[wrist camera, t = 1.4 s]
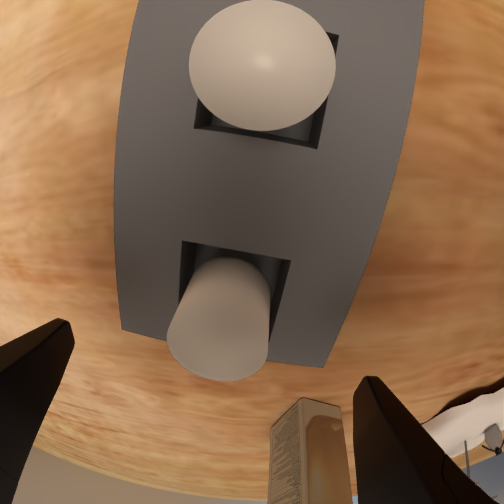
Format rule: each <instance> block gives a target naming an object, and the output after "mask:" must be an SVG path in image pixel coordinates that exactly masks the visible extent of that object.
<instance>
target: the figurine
mask: <svg viewBox="0 0 504 504" xmlns="http://www.w3.org/2000/svg"><path fill="white" fill-rule="evenodd" d="M422 426H423V428H424V429H425V430H426V431H427V432H428V433H429V434H430V435H431V437H432V438H433V439H434V440H435V441H436V442H437V443H438V445H439V446H440V447H441V448H442V449H443V450H444V451H445V453H446V454H447V455H448V456H449V457H450V458H452V457H456V456H458V455H460V454H462V453H464V452H465V454H466V464H467V476H468V477H469V478H470V471H469V460H468V450H471V449H472V448H474V447H476V446H477V445H479V444H480V443H481V442H483V441H484V440H485V442H486V443H487V444H488V446H489V447H490V449H491V450H490V449H489V448H487V447H485V446H483V445H482V447H484V448H486V449H488V450H490V451H493V452H495V454H496V456H497V455H498V454H500V453H501V452H502V450H501V447H502V446H503V444H504V440H503V441H502V434H501V431H502V430H504V388H502V389H500V390H499V391H497V392H495V393H493V394H486V395H481V396H479V397H477V398H476V399H474V400H473V401H471V402H469V403H466V404H463V405H459V406H456V407H452V408H450V409H448V410H447V411H445V412H443V413H441V414H439V415H438V416H436V417H435V418H433V419H431V420H430V421H428V422H426V423H424V424H422ZM474 483H475V482H474ZM475 484H476V485H479V482H478V483H475ZM496 497H497V496H494V497H491V498H492V499H493V498H496Z"/></svg>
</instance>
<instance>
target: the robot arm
mask: <svg viewBox="0 0 504 504" xmlns="http://www.w3.org/2000/svg"><path fill="white" fill-rule="evenodd" d="M74 345H75V340H74V336H73V333H72V329H71V325H70V323H69V322H68V321H66V320H63V319H60V318H57V319H54V320H52V321H50V322H48V323H46V324H44V325H42V326H40V327H38V328H36V329H34V330H32V331H30V332H28V333H26V334H24V335H22V336H20V337H18V338H16V339H14V340H12V341H10V342H8V343H6V344H4V345H2V346H0V504H12V501H13V497H14V495H15V492H16V489H17V486H18V482H19V479H20V476H21V474H22V471H23V468H24V465H25V463H26V460H27V457H28V455H29V452H30V450H31V447H32V445H33V442H34V440H35V438H36V435H37V433H38V431H39V428H40V426H41V424H42V421H43V419H44V417H45V415H46V413H47V410H48V408H49V406H50V404H51V402H52V400H53V398H54V395H55V393H56V391H57V389H58V387H59V385H60V382H61V380H62V377H63V374H64V372H65V369H66V366H67V364H68V361H69V359H70V356H71V353H72V351H73V348H74ZM353 446H354V456H355V467H356V479H357V492H358V504H499V503H497V502H496V501H494V500H493V499H492V498H491V497H490V496H488V495H487V494H486V493H485V492H484V491H483V490H482V489H481V488H480V487H479V486H478V485H476V484H475V483H474V482H473V481H472V480H471V479H470V478H469V477H468V476H467V475H466V474H465V473H464V472H463V471H462V470H461V469H460V468H459V467H458V466H457V465H456V464H455V463H454V462H453V460H452V459H451V458H450V457H449V456H448V455H447V454H446V453H445V451H444V450H443V449H442V448H441V447H440V446H439V445H438V443H437V442H436V441H435V440H434V439H433V438H432V437H431V435H430V434H429V433H428V432H427V431H426V430H425V429H424V428H423V426H422V425H421V424H420V423H419V422H418V421H417V420H416V419H415V417H414V416H413V415H412V414H411V413H410V412H409V411H408V410H407V408H406V407H405V406H404V405H403V404H402V403H401V402H400V401H399V399H398V398H397V397H396V396H395V395H394V394H393V393H392V392H391V390H390V389H389V388H388V387H387V386H386V385H385V384H384V383H383V381H382V380H381V379H380V378H379V377H377V376H365V377H364V378H363V379H362V381H361V383H360V384H359V386H358V388H357V389H356V391H355V393H354V396H353Z"/></svg>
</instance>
